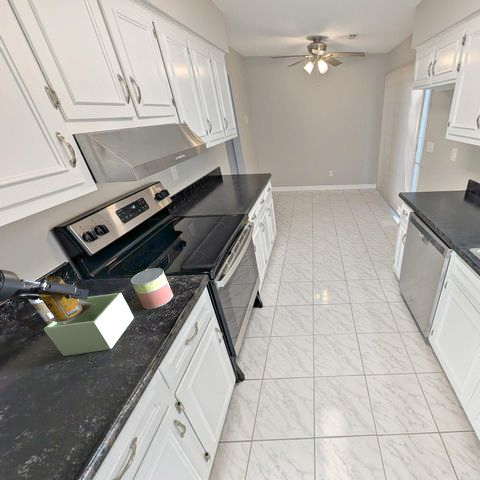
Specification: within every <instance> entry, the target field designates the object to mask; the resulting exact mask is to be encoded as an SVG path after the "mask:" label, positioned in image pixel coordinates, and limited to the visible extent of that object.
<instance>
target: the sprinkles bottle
mask: <svg viewBox="0 0 480 480" xmlns="http://www.w3.org/2000/svg"><path fill="white" fill-rule="evenodd" d="M28 301H29V303H30V304H31V305H32V306H33V307H34V308H35V310H36V312H37V313H38V314H39V316H40V317H41V319H42V320H43V321H44V322H45V323H46V324H47V325H48V324H50V323H51V322H52V321H51V320H49V319H51V318H53V317H54V316H53V315H52V314H51V312H50V311H49V309H48V308H47V307H46V305H45V304H44V302H43V301H42V300H39V299H38V300H30V299H29V300H28Z"/></svg>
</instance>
